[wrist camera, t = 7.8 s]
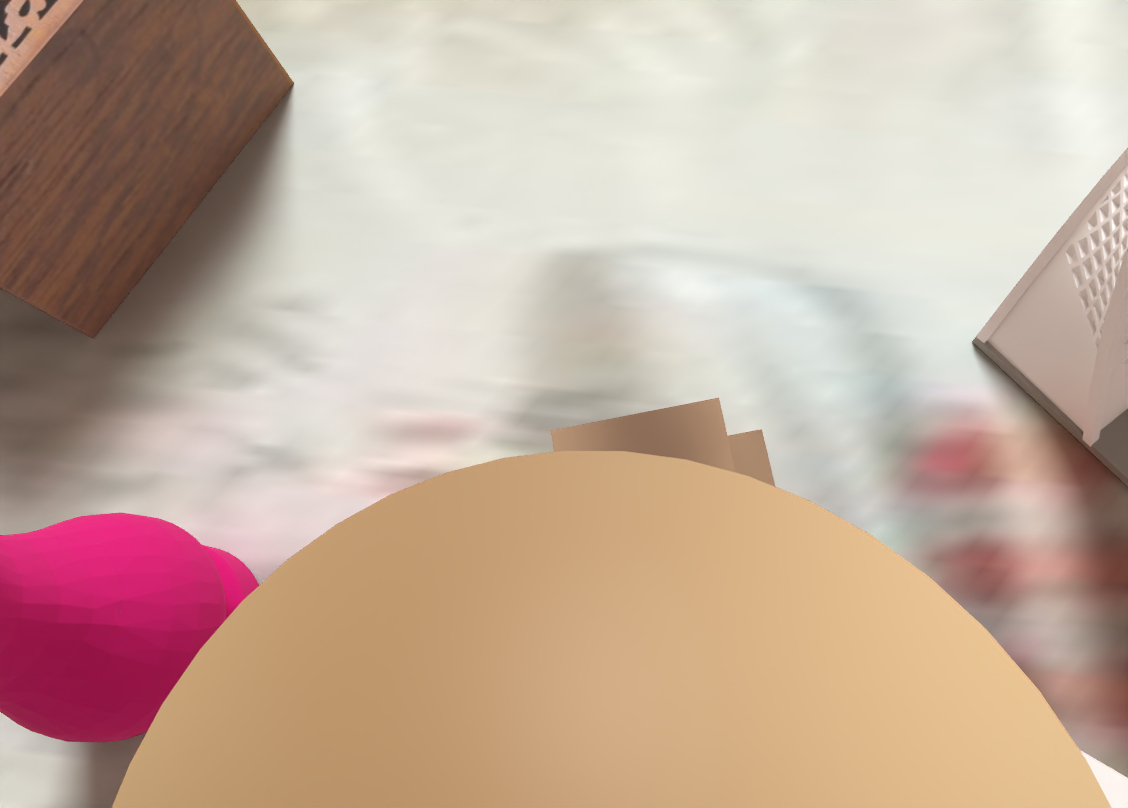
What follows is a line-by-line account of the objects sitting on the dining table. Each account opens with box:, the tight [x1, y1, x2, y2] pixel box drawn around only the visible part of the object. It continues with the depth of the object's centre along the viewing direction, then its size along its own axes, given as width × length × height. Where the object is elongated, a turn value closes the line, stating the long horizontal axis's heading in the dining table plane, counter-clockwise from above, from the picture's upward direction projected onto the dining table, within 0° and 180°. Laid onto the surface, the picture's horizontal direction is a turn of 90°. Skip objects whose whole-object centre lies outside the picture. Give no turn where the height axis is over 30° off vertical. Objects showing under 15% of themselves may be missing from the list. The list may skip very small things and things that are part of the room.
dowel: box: [112, 451, 1111, 808], centre depth 10 cm, size 4×4×16 cm
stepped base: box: [551, 398, 775, 487], centre depth 26 cm, size 8×16×6 cm, turn 9°
